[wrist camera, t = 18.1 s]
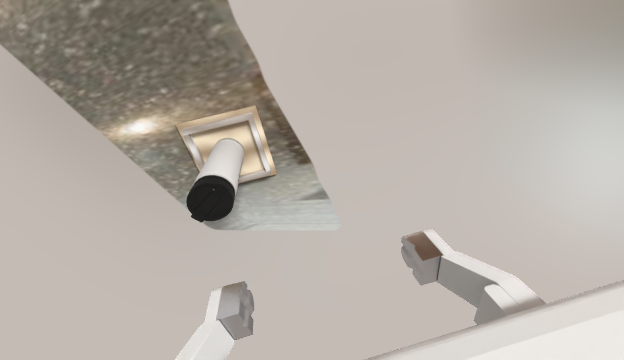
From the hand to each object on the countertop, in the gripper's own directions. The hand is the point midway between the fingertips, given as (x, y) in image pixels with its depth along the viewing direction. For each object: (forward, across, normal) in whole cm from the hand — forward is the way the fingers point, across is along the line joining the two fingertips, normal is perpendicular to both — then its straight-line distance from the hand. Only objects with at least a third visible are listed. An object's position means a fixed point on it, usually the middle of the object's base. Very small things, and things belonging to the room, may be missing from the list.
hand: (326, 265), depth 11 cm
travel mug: (+40, +13, +7) cm, 43 cm away
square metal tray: (+41, +13, +7) cm, 44 cm away
